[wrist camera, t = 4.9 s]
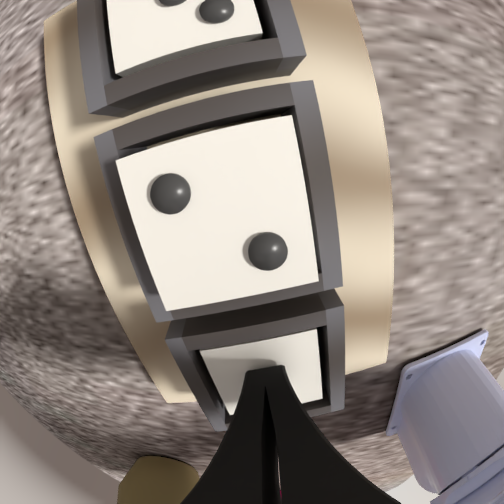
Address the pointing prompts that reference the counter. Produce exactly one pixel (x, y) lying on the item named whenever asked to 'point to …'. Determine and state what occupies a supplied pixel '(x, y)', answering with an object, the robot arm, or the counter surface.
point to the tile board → (217, 117)
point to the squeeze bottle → (157, 481)
